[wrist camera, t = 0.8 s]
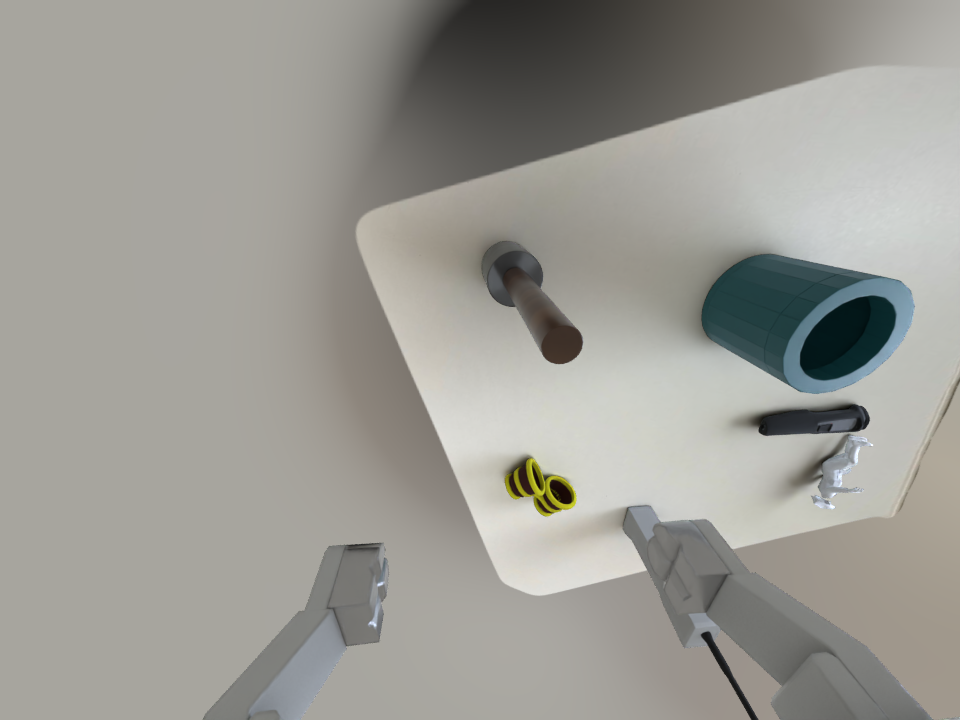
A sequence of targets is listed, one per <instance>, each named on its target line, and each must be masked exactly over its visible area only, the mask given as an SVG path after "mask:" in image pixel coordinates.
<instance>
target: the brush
mask: <svg viewBox="0 0 960 720" xmlns="http://www.w3.org/2000/svg"><path fill="white" fill-rule="evenodd" d="M482 274H483V277H484V279H485V282H486V284H487V287H488V289H489V292H490V294H491V295H492V297H493V298H494V299H495V300H496V301H497V302H499V303H500V304H502V305H505V306H509V307H516V308H517V310H518V311H519V313H520V315H521V317H522V319H523V320H524V322H525V324H526V326H527V328H528V329H529V331H530V333H531V335H532V336H533V338H534V340H535V342H536V344H537V345H538V347H539V349H540V351H541V352H542V354H543V356H544V357H545V359H546V360H548V361H549V362H551V363H554V364H564V363H568V362H570V361H572V360H573V359H575V358H576V357H577V356H578V355H579V353H580V351H581V349H582V346H583V337H582V335H581V333H580V332H579V330H578V329H577V328H576V327H575V326H574V325H573V324H572V323H571V322H570V320H569V319H568V318H567V317H566V316H565V315H564V314H563V313H562V312H561V311H560V309H559V308H558V307H557V306H556V305H555V304H554V303H553V302H552V301H551V300H550V298H549V297H548V296H547V295H546V294H545V293H544V292H543V291H542V290H541V289H540V288H541V286H542V282H543V272H542V268H541V265H540V264H539V262H538V261H537V259H536V258H535V257H534V256H532V255H531V254H530V253H529V252H527V251H526V250H525V249H524V248H523V247H521V246H520V245H519V244H517V243H514V242H511V241H502V242H499V243H496V244H494V245H493V246H491V247H490V248H489V249H488V250H487V252H486V253H485V255H484V257H483V260H482Z"/></svg>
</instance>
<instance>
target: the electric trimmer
mask: <svg viewBox="0 0 960 720" xmlns="http://www.w3.org/2000/svg"><path fill="white" fill-rule="evenodd" d="M869 421H870V417H869V415H868V412H867V411H866V409H865V408H864V407H863V406H858V405H856V404H855V405H852V406H851V407H850V409H847V410H837V411H827V412H817V413H814V412H811V411H808V410H799V411H794V412H788V413H784V414H779V415H774V416H770V417H765V418H763V420H762V423H761V425H760V427H759V433H760V434H762V435H765V436H770V435H788V434H806V433H811V434H820V433H841V432H857V431H860V430H863V429H865V428H866V427H867V425H868V424H869Z"/></svg>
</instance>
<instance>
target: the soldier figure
mask: <svg viewBox="0 0 960 720" xmlns="http://www.w3.org/2000/svg"><path fill="white" fill-rule="evenodd" d="M864 441H868V439H866V438H864V437H860V436H852V435H848V442H847V444H846V448H845V453H844V454H841V455H837V456H835V457H832V458H829V459H828V460H827V461H825V462H824V463H822V473H823V477H822V480H821V481H820V483H819V485H818V488H819V490H820V492H821V495H822V497H823V498H831V497H834V496H835V495H836V494H837V493H841V492H842V493H848V492H850V493H853V492H857V493H858V492H862V491H863V490H864V489H860V488H859V489H860V490H859V489H857V487H856V488H854V489H847V488H843V487H839V486H840V485H842V481H841V475H844V474H848V473H849V472H850V471H851V469H848V470H846V471H844V469H847V468H850V467H853V466H855V465H856V464H857V463H858V461H857V456H858V451H859V449H860V447H862V446H873V445H872V444H870V443H868V442H864ZM840 470H841V471H840ZM856 489H857V490H856ZM811 497H812V499H813V503H814V504H815V505H817V506H818V507H821V508H826V509H834V508H835V507H834V506H833V505H831V504H830V503H831V501H830V502H828V501H826V500H824V499H823V498H821V497H819V496H816V495H815V496H814V497H813V496H811Z"/></svg>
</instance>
